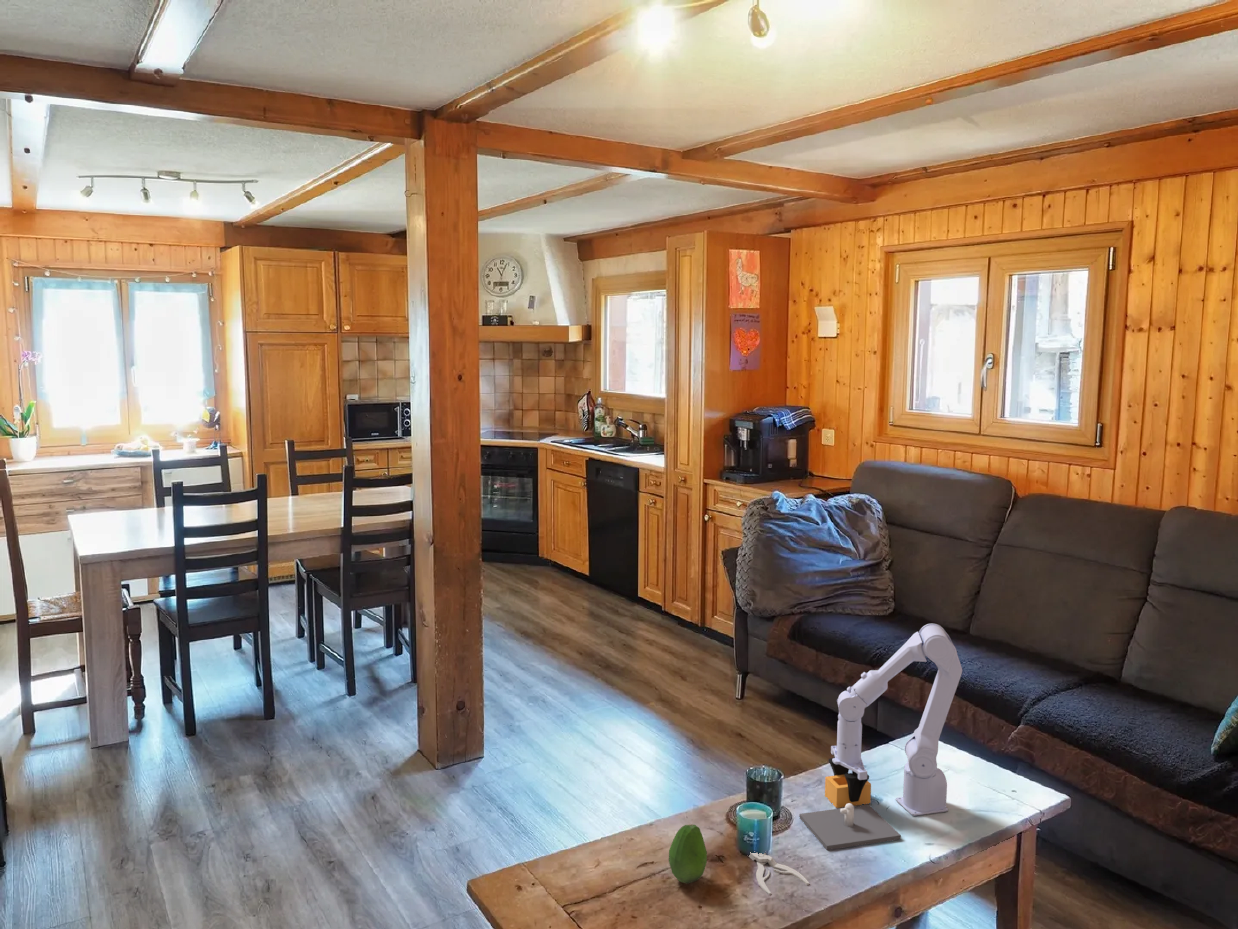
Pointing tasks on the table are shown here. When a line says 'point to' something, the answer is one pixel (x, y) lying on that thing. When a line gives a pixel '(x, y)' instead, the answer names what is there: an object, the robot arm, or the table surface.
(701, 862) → the avocado
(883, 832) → the hook board
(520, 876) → the table surface
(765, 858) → the pliers
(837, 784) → the orange link
